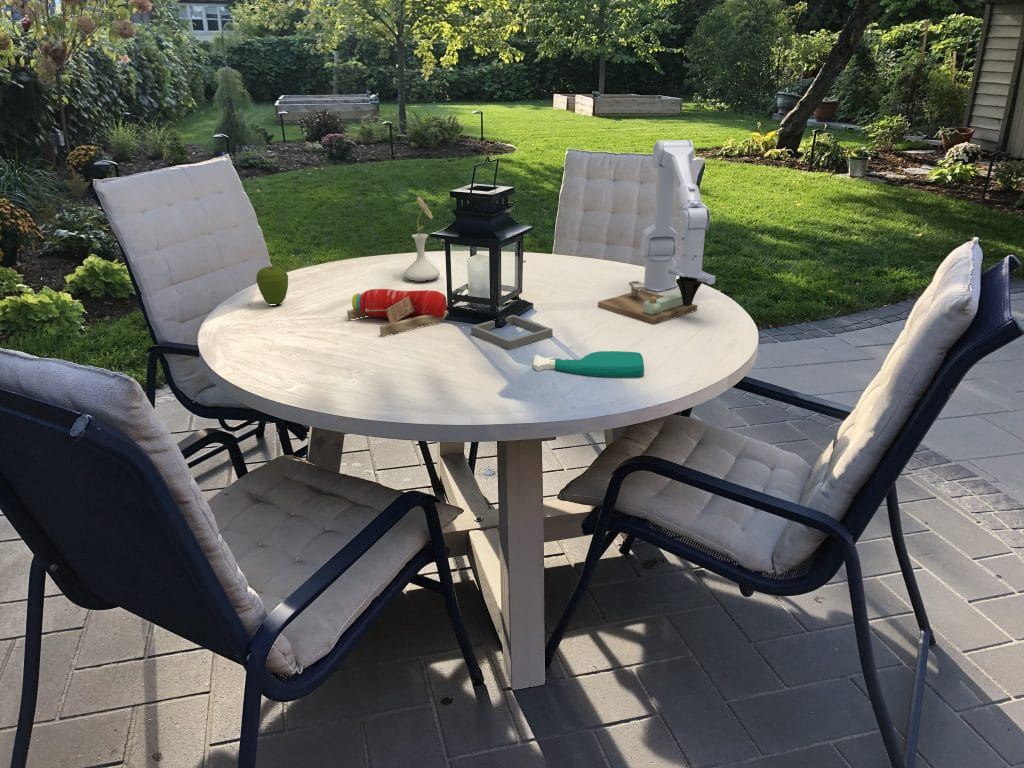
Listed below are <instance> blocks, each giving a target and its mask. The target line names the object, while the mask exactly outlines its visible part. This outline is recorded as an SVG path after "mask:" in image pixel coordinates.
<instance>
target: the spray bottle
mask: <svg viewBox="0 0 1024 768" xmlns="http://www.w3.org/2000/svg"><path fill="white" fill-rule="evenodd" d="M644 363H645V362H644V357H643V355H642V353H640V352H635V351H618V350H617V351H616V350H611V351H610V350H606V351H605V350H603V351H601V350H600V351H595V352H591V353H588V354H586V355H584V356H583V357H582V358H581V359H569V358H566V359H561V358H558V356H556V357H543V356H541V355H539V354H535V356H534V358H533V364H532V367H533V368H534V369H535V370H536V371H537V372H540V371H543V370H556V371H560V372H566V373H570V374H577V375H581V376H586V377H587V376H588V377H589V376H590V377H599V378H601V377H602V378H641V377H643V376H644V374H645V364H644Z"/></svg>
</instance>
